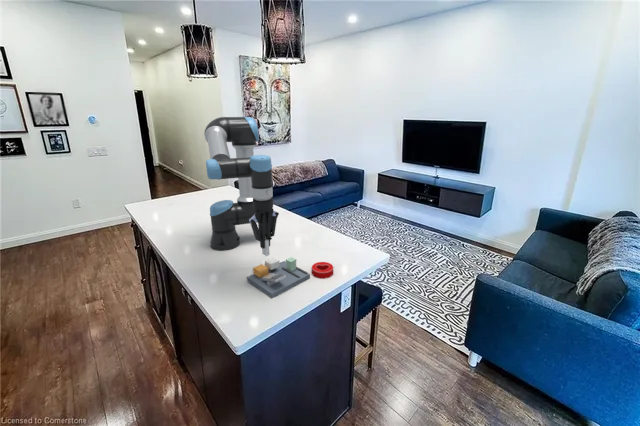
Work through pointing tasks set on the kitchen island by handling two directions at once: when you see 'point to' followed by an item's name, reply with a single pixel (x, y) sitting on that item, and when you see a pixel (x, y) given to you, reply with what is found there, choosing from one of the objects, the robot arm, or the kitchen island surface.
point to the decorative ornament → (322, 270)
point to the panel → (281, 285)
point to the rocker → (273, 277)
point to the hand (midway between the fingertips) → (265, 254)
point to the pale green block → (291, 264)
